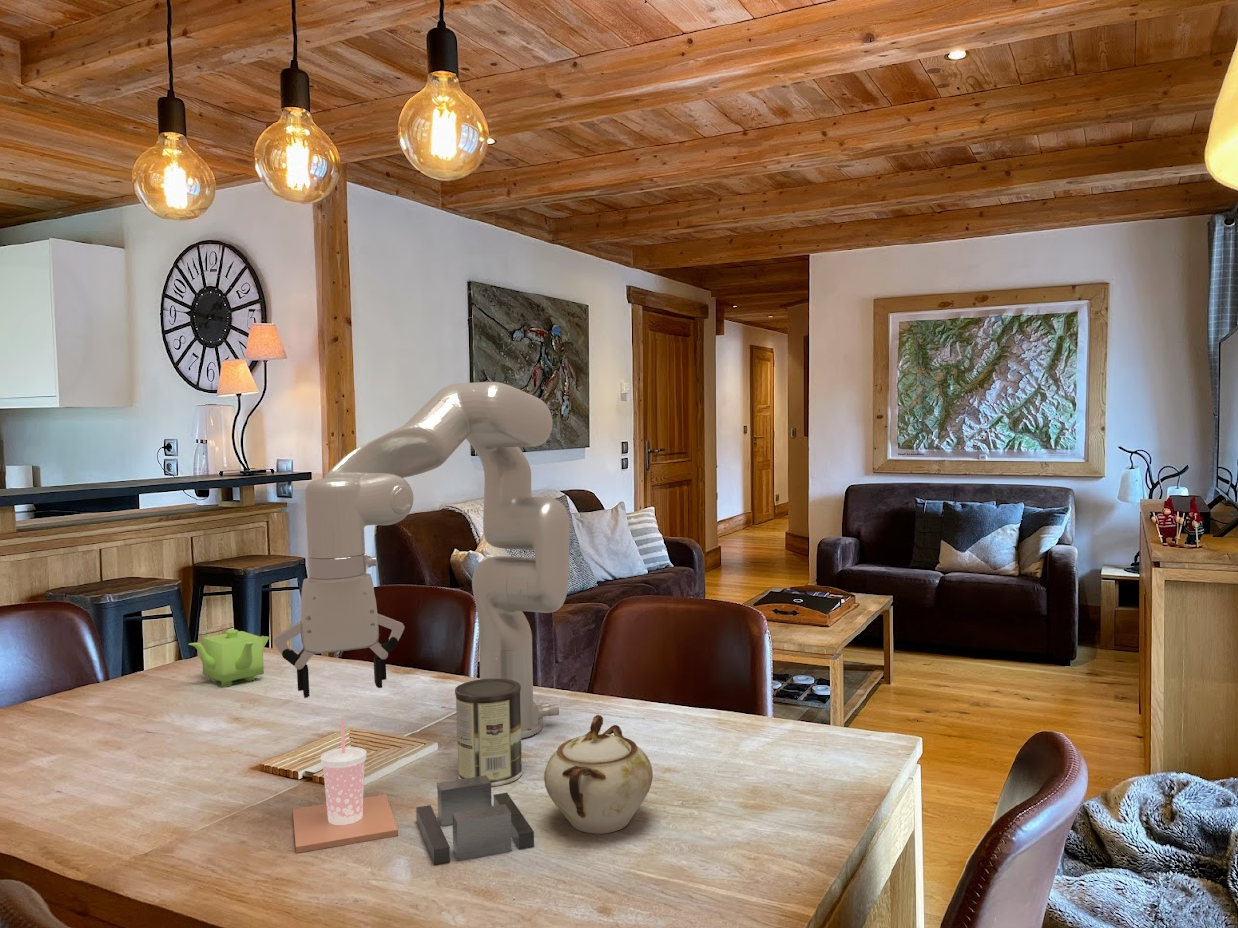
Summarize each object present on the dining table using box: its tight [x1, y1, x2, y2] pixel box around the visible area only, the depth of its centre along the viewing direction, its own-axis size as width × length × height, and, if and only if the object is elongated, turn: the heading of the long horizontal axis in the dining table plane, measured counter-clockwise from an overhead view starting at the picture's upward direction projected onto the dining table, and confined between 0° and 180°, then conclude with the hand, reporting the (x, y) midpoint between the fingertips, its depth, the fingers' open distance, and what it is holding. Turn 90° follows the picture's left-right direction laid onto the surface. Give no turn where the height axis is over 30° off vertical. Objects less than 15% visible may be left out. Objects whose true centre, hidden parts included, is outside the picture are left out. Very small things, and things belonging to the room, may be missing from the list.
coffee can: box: [454, 678, 524, 787], centre depth 144 cm, size 10×10×14 cm
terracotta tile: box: [292, 794, 399, 854], centre depth 126 cm, size 13×13×1 cm
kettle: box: [187, 629, 270, 687], centre depth 203 cm, size 15×14×11 cm
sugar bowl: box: [543, 714, 654, 835], centre depth 126 cm, size 20×15×15 cm
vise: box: [415, 775, 535, 866], centre depth 123 cm, size 13×14×5 cm
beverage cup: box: [320, 717, 367, 825], centre depth 126 cm, size 6×6×14 cm
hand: (342, 690), depth 126 cm, fingers open, 9 cm apart
